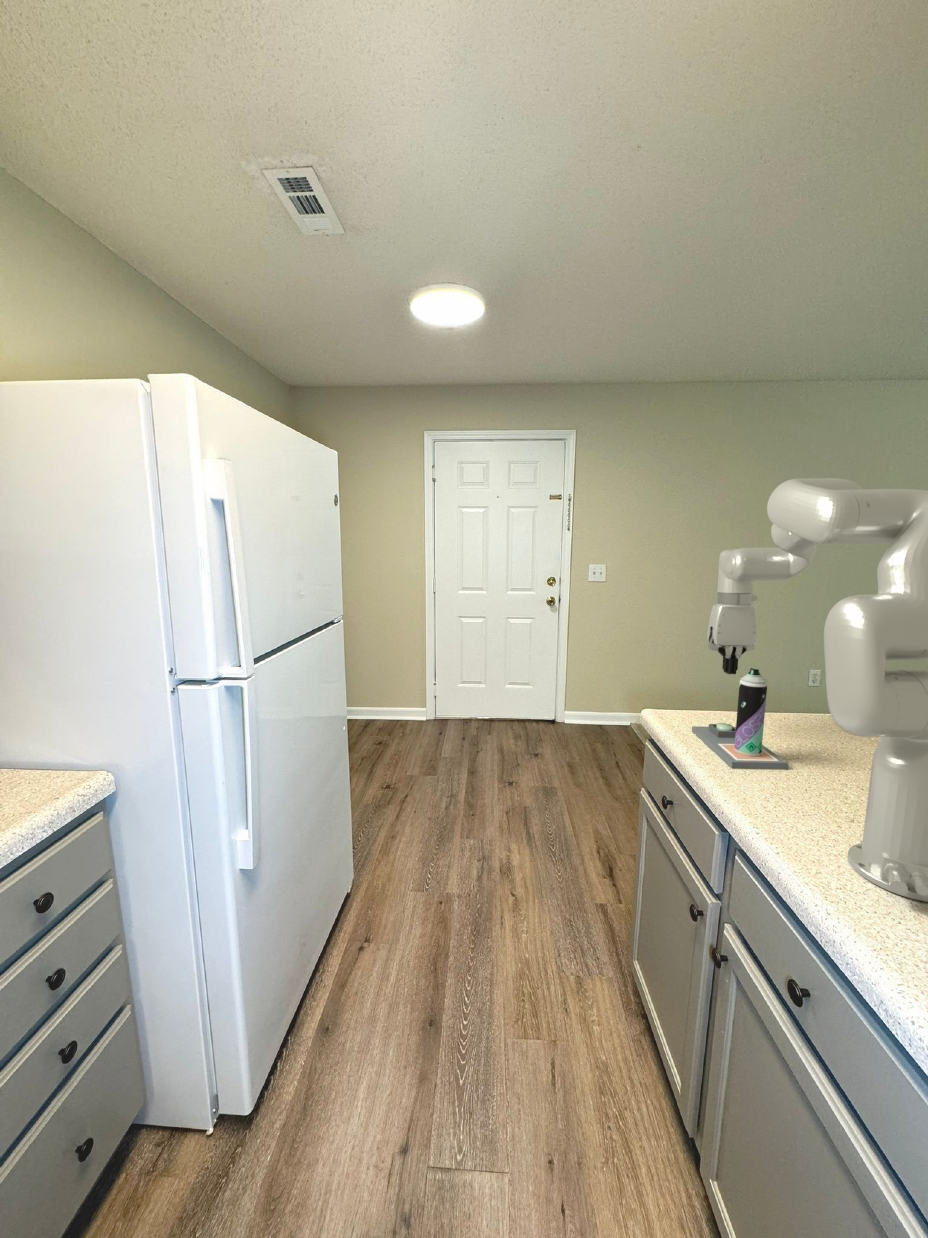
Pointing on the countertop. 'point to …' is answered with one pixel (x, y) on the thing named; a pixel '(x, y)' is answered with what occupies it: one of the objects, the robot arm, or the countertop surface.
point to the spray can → (750, 714)
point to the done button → (724, 727)
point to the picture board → (725, 750)
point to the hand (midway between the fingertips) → (729, 673)
